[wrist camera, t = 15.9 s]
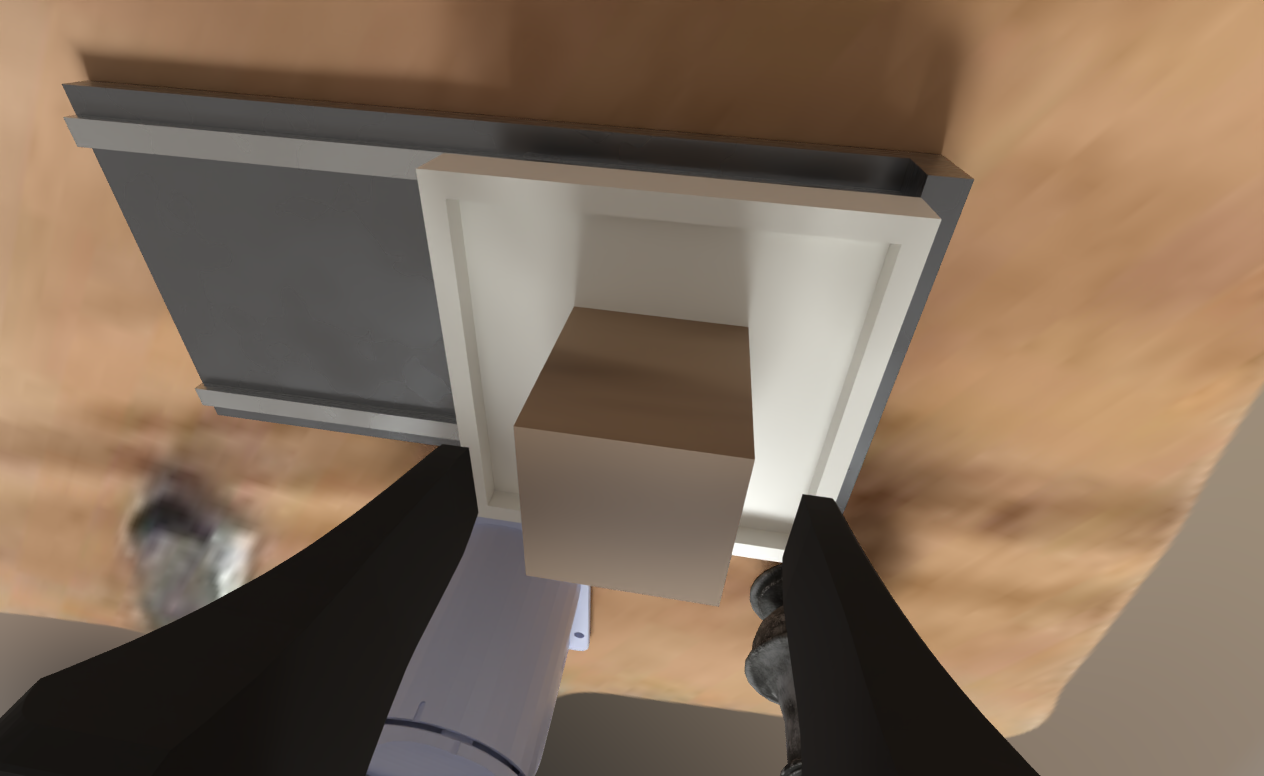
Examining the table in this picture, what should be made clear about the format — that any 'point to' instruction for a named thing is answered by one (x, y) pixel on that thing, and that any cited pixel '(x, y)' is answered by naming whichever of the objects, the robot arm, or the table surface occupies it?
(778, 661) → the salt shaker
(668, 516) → the plain brown block
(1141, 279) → the table surface
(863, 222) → the white recessed tray
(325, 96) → the table surface
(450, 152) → the dark grey tray
